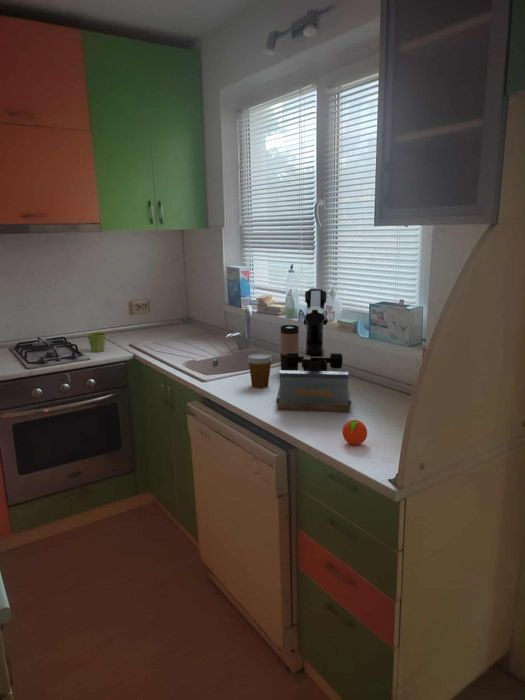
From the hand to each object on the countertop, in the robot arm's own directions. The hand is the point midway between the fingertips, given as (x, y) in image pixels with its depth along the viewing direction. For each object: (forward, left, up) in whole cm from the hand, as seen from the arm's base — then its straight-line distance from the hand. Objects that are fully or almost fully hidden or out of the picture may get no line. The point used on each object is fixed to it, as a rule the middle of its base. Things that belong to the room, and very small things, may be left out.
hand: (313, 382), depth 169 cm
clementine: (+19, +20, -11) cm, 30 cm away
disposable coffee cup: (-20, -29, -11) cm, 37 cm away
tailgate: (-1, 0, -8) cm, 8 cm away
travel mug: (-42, -26, -11) cm, 50 cm away
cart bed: (-8, -3, -11) cm, 13 cm away
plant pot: (-39, -130, -11) cm, 136 cm away
